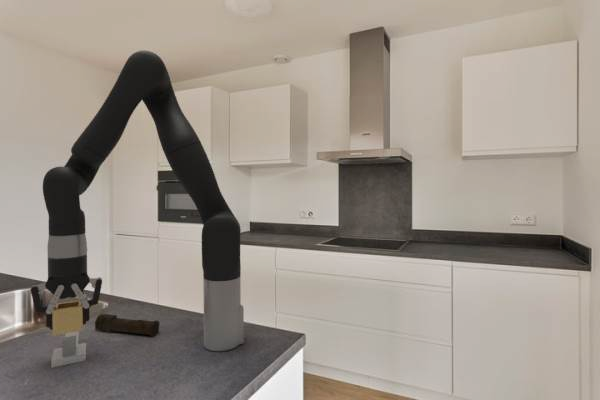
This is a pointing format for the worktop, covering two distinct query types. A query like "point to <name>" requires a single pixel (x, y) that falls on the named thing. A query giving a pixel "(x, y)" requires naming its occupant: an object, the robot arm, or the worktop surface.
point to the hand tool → (126, 325)
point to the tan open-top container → (67, 317)
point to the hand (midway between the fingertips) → (68, 325)
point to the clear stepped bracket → (69, 351)
